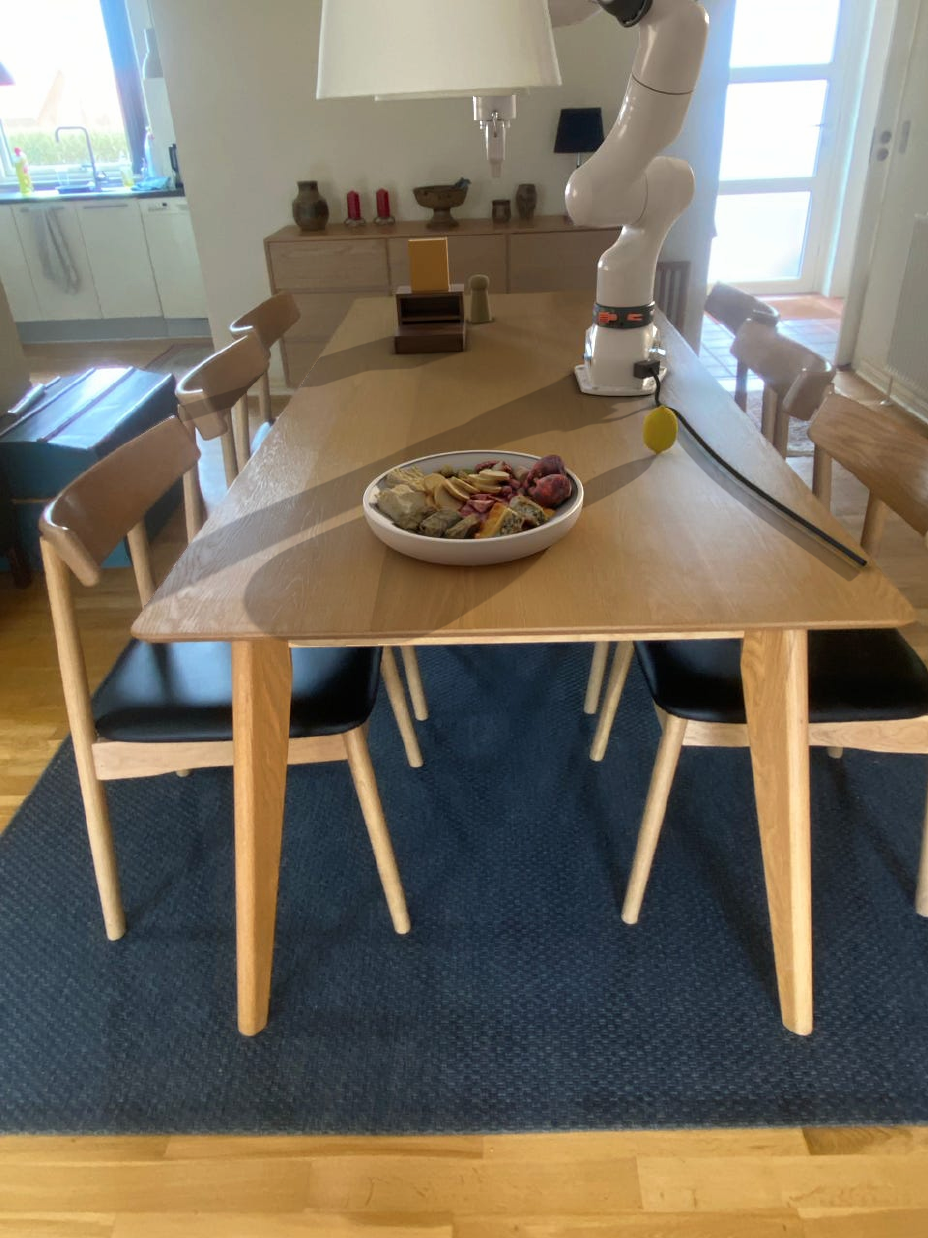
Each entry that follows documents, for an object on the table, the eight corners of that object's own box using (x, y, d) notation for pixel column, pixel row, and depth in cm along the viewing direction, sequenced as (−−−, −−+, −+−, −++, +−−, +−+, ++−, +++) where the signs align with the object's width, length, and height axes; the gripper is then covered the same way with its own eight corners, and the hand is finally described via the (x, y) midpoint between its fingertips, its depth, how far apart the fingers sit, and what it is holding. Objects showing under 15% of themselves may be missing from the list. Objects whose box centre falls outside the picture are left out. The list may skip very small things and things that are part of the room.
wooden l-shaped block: (463, 351, 190) (461, 301, 184) (395, 353, 191) (390, 304, 185) (466, 329, 207) (464, 283, 201) (402, 332, 208) (399, 286, 202)
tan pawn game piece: (477, 316, 218) (475, 272, 212) (496, 318, 215) (495, 273, 209) (464, 321, 214) (462, 276, 208) (483, 323, 211) (481, 278, 205)
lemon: (634, 451, 134) (637, 403, 130) (662, 445, 136) (666, 397, 132) (653, 462, 130) (657, 413, 126) (682, 456, 132) (687, 407, 127)
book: (448, 289, 196) (446, 239, 190) (411, 291, 196) (407, 241, 190) (449, 286, 199) (446, 236, 193) (412, 287, 200) (408, 238, 194)
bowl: (411, 599, 99) (406, 541, 94) (340, 505, 122) (333, 455, 118) (624, 543, 108) (628, 488, 104) (521, 466, 131) (520, 418, 127)
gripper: (510, 110, 165) (511, 187, 172) (508, 107, 182) (509, 178, 190) (479, 112, 165) (481, 189, 173) (480, 109, 182) (482, 179, 190)
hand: (496, 183), depth 181 cm, fingers open, 8 cm apart
